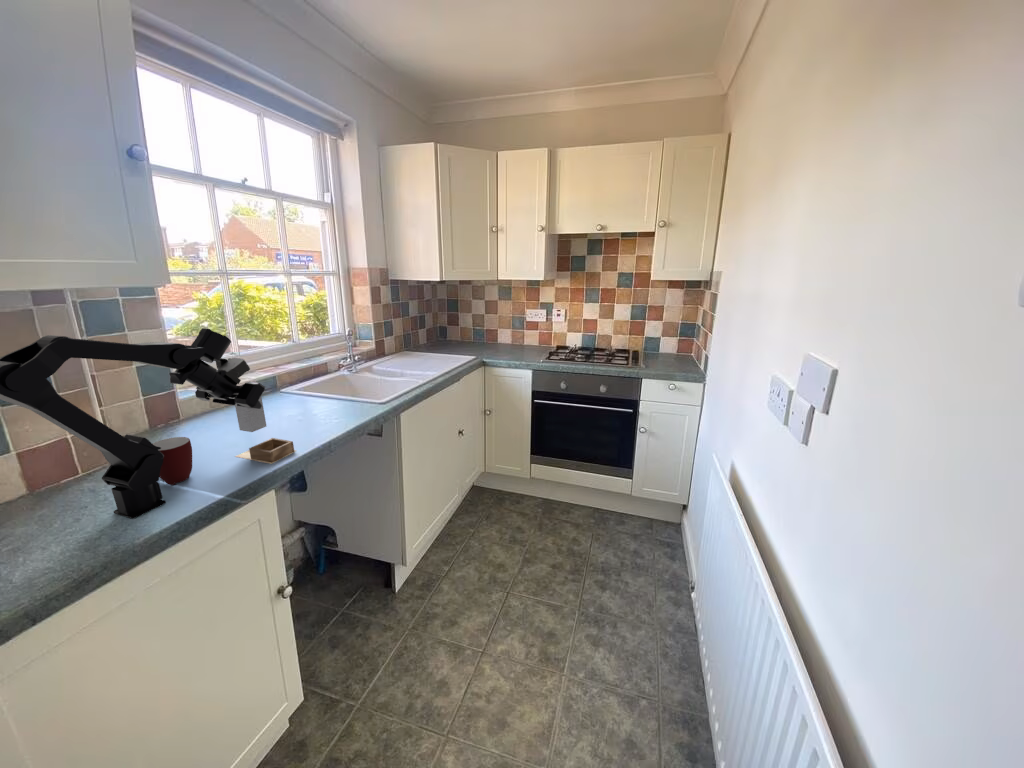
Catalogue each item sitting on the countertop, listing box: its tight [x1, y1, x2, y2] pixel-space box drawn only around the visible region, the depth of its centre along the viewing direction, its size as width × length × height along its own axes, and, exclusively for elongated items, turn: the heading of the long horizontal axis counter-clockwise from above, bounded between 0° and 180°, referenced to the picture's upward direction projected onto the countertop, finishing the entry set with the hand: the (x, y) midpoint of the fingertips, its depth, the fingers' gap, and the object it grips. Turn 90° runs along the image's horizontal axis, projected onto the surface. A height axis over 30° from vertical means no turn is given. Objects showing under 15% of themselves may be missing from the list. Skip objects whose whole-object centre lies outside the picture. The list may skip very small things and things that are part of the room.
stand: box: [234, 437, 297, 465], centre depth 113 cm, size 8×13×4 cm, turn 71°
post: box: [234, 396, 267, 433], centre depth 112 cm, size 4×4×11 cm
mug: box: [151, 436, 193, 486], centre depth 99 cm, size 11×8×10 cm
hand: (254, 406), depth 113 cm, fingers closed on post, 4 cm apart
